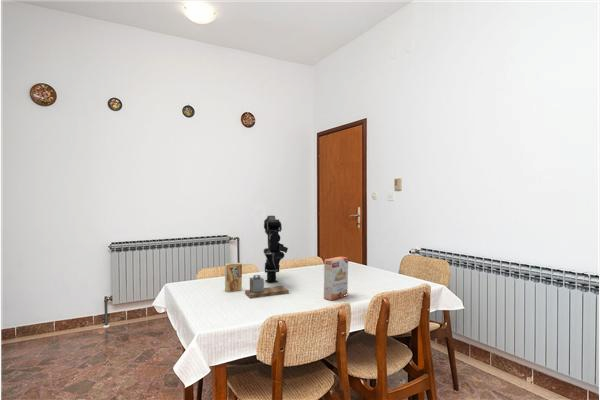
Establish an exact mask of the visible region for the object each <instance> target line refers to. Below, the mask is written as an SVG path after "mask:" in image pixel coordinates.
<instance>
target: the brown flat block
mask: <svg viewBox="0 0 600 400" xmlns="http://www.w3.org/2000/svg"><path fill="white" fill-rule="evenodd" d="M244 294H245V295H246V296H247V297H248V298H249V299H256V298H257V299H258V298H265V297H273V296H280V295H289V294H290V290H289V289H288V288H287V287H285V286H284V285H279V286H278V285H277V286H268V287H264V292H259V293H252V292H251V291H250V289H245V290H244Z"/></svg>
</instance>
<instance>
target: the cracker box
mask: <svg viewBox="0 0 600 400" xmlns="http://www.w3.org/2000/svg"><path fill="white" fill-rule="evenodd" d="M323 262H324V264H323V265H324V268H323V299H325V300H327V301H328V300H329V301H335V300H338V299H340V298H339V297H341V298H343V297H342V296H344V295H346V294H347V295H348V290H349V289H348V286H349V285H348V281H349V279H348V278H349V257H348V256H347V257H346V256H336V257H331V258H326V259H324V261H323ZM344 297H345V296H344ZM337 298H338V299H337Z"/></svg>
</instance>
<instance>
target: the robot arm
mask: <svg viewBox="0 0 600 400" xmlns="http://www.w3.org/2000/svg"><path fill="white" fill-rule="evenodd" d="M263 229H264V233H265V234H266V235H267V247H266V248H264V249H263V254H264V256H265V258H266V259H265V262H264V273H266V279H264V282H266V283H267V284H273V283H278V282H279V281H278V280H277V273H279V272H280V268H281V267H280V261H282V260H283V259H284V258H285V254H287V253H288V249H289V247H287V246H285V245H284V243H280V241H281V235H280V233H281V232H282V230H283V228H282V222H281V221H280V219H277V218H276V216H275V215H267V216H266V219H264V221H263ZM279 232H280V233H279Z"/></svg>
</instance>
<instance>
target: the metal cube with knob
mask: <svg viewBox="0 0 600 400" xmlns="http://www.w3.org/2000/svg"><path fill="white" fill-rule="evenodd" d="M264 283H265V278H263V277H261V275H260V274H254V275H253V277H249V290H250V291H251V292H252V293H259V292H264V288H265V284H264Z"/></svg>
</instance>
